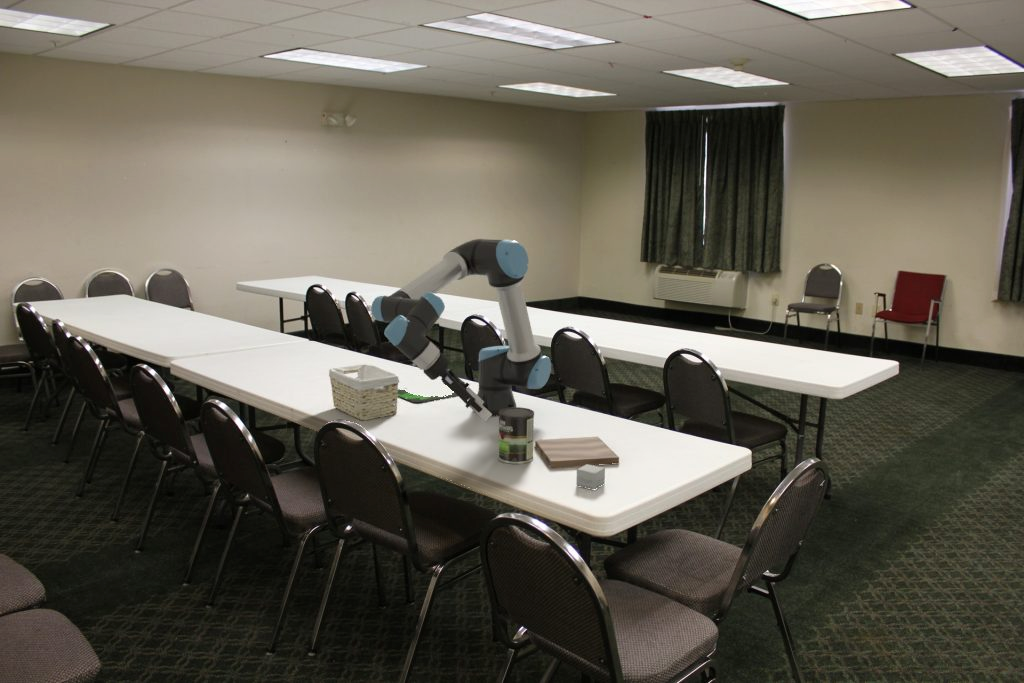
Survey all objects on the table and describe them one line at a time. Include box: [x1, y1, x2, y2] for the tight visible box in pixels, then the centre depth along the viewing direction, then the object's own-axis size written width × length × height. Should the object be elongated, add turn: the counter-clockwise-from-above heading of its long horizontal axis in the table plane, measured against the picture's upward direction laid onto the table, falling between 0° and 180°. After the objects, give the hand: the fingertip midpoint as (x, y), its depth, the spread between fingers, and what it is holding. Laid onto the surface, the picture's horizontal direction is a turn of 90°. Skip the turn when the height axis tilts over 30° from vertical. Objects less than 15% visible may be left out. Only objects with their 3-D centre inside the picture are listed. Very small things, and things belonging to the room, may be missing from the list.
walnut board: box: [534, 436, 620, 469], centre depth 233 cm, size 20×20×2 cm
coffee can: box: [497, 406, 535, 465], centre depth 229 cm, size 10×10×14 cm
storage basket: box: [328, 363, 400, 421], centre depth 277 cm, size 24×16×15 cm
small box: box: [575, 464, 606, 490], centre depth 208 cm, size 6×6×5 cm
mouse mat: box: [398, 388, 459, 404], centre depth 306 cm, size 27×22×1 cm
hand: (484, 411), depth 225 cm, fingers open, 13 cm apart
